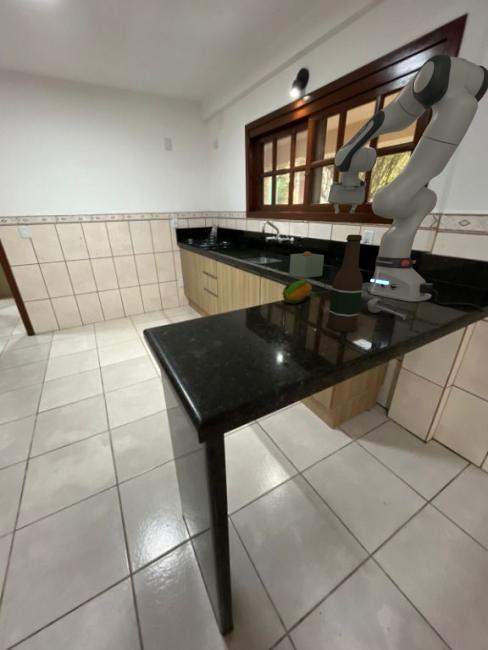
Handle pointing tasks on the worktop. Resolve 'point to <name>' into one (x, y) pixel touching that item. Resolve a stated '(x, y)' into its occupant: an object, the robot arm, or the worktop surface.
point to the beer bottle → (347, 289)
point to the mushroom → (381, 307)
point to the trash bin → (306, 265)
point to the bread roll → (307, 254)
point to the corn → (296, 291)
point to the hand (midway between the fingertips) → (344, 213)
